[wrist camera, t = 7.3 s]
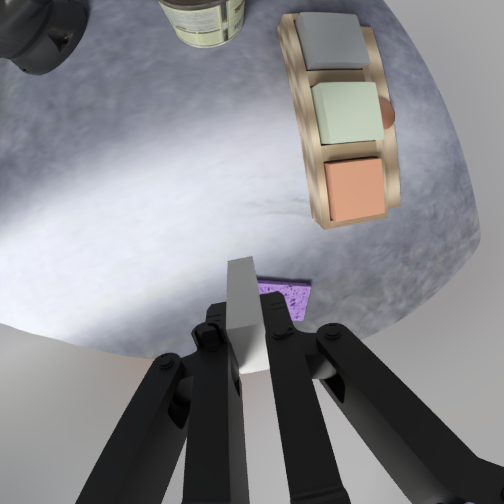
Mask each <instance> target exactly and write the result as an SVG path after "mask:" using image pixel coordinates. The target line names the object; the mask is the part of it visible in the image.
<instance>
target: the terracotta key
mask: <svg viewBox="0 0 504 504" xmlns="http://www.w3.org/2000/svg"><path fill="white" fill-rule="evenodd" d="M323 164H324V171H325V179H326V186H327V195H328V204H329V213H330V218H332V219H333V220H334V221H335V222H339V221H345V220H350V219H355V218H361V217H366V216H372V215H377V214H383V213H385V201H384V184H383V171H382V161H381V159H379V158H374V157H358V158H349V159H340V160H332V161H324V162H323Z"/></svg>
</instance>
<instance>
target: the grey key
mask: <svg viewBox="0 0 504 504" xmlns="http://www.w3.org/2000/svg"><path fill="white" fill-rule="evenodd" d="M294 25H295V29H296V32H297V36H298V40H299V43H300V47H301V51H302V55H303V59H304V63H305V68H306V71H321V70H358V69H360V68H362V67H365V66H367V65H369V64H371V62H370V58H369V55H368V51H367V47H366V44H365V40H364V37H363V34H362V30H361V27H360V24H359V21H358V18H357V15H354V14H343V13H327V12H301V13H300V14H299V16H298V18H297V20H296V21H295V23H294Z"/></svg>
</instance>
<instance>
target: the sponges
mask: <svg viewBox="0 0 504 504" xmlns="http://www.w3.org/2000/svg"><path fill="white" fill-rule="evenodd" d="M257 281H258V286H259V291H260V294H265V293H270V292H275V291H279V292H280V293H282V294H283V295H284V297H285V300H286V303H287V307H288V310H289V313H290V316H291V319H292V320H303V318H304V314H305V310H306V306H307V302H308V297H309V294H310V289H311V287H310V285H309V284H308V283H294V282H281V281H276V282H275V281H269V280H257Z"/></svg>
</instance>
